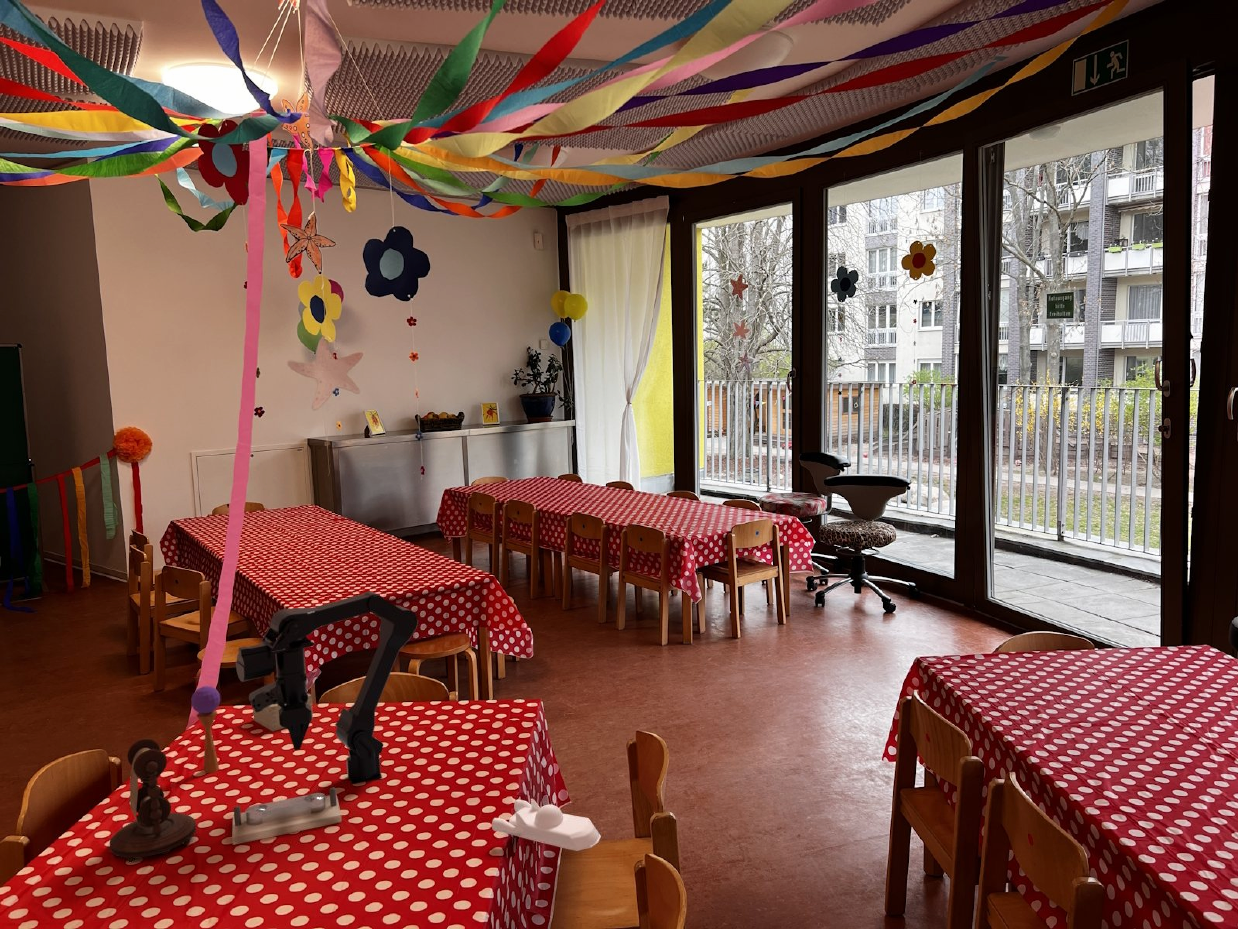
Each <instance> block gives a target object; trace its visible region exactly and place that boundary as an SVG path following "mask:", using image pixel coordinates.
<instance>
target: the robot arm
mask: <svg viewBox="0 0 1238 929" xmlns="http://www.w3.org/2000/svg"><path fill="white" fill-rule="evenodd" d="M369 613H372V615H375V617H378V618H379V619H381V620H380V621H381V622H380V625H379V643H378V646H377V648H376V650H375V654H374V655H373V657H372V661H371V664H370V665H369V668H368V670H367V673H366V674H365V678H364V680H363V683H362V685H361V688H360V690H359V692H358V694H357V697H356V700H355V702H354V704H353V705H351V706H350V708H349V709H347V708H345V707H343V708H342V709H341V711H340V715H339V719H338V720H337V721H336V723H335V724H334V726H335V727H336V730H335V734H336V737H337V740H339V742H340V743H342V744H344V745H345V747H346V748H348V757H346V771H347V779H348V780H349V781H350V783H351V784H352V785H356V784H362V783H367V782H370V781H376V780H382V778H383V776H382V773H381V760H380V758H381V757H380V754H382V751H383V747H384V743H383V742H382V741H380V740H379V739H377V738H376V737H375V736H374V731H375V729H376V728H375V726H376V709H377V707H378V704H379V701H380V699H381V696H382V694H383V693H384V689H385V687H386V684H387V682H388V679H389V678H390V674H391V673H392V672H391V671H392V669H393V667H394V665H395V662H396V659H397V657H398V654H399V652H400V651H401V649H402V648H403V647H404V646H405V645H406V644H407V642H409V641H410V639H411V638H412V636H413V635H414V633H415V632H416V629H417V628H418V626H419V625H418V624H419V619H418V616H417V615H416V613H415V612H414V611H413V610H410V609H408V608H406V607H404V606H401V605H397V604H396V605H395V604H393V603H391V602H390V601H387V600H386V599H384V598H383V597H382V596H381V595H380V594H378V593H375V592H372V591H366V592H364V593H362V594H358V595H355V596H350V597H346V598H344V599H340V600H339V599H338V600H337V601H333V602H329V603H326V604H325V603H324V604H322V605H318V606H314V607H293V608H283V609H279V610H278V611H276V612H275V613H274V614H273V616H272V618H271V619H270V624H269V627H268V629H267V631H266V632H265V634H264V636H263V637H262V638H261V640H260V643H259V644H255V645H250V646H249V645H248V646H241V647H238V653H237V655H236V661H235V669H236V673H237V677H238V679H239V680H240V682H247V681H251V680H255V679H260V678H264V677H269V676H271V675H272V673H275V670H276V675H275V681H273V682H271V683H268V684H266V685H264V686H262V687H260V688H257V689H256V690H254V691H252V692H250V693H249V695H248V700H249V702H250V704H251V707H252V709H253V708H254V710H255V712H256V713H257V712H260V711H262V710H263V709H264V708H266V707H268V706H270V705H272V704H274V703H276V702H277V703H278V705H279V706H280V707H281V709H280V710H279V723H280V725H281V726H282V727H285V728H284V729H286V730H288V733H289V736H290V740H291V742H292V747H293V749H294V751H298V750H301V749H302V748H301V747H302V746H303V742H304V741H305V740H304V739H305V736H306V735H307V732H308V729H309V727H310V723H311V722H312V720H313V719H312V713H313V712H312V713H311V707H310V705H309V704H307V700H308V694H309V692H308V686H307V685H308V684H307V681H308V678H307V677H308V676H307V671H306V668H307V667H306V657H305V649H306V648H310V647H314V646H315V643H314V642H313V641H311V640H310V639H309V638H308V637H307V636H309V635H311V634H312V633H314V632H315V631H316V630H317V629H320V628H322V627H324V626H327V625H331V624H335V623H338V622H342V621H345V620H348V619H352V618H355V617H356V618H357V617H359V616H363V615H366V614H369Z"/></svg>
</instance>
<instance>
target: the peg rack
mask: <svg viewBox="0 0 1238 929" xmlns="http://www.w3.org/2000/svg"><path fill="white" fill-rule="evenodd" d="M337 795H338V794H337V790H336V787H330V788H329V795H325V801H326V808H325V809H324V810H323V811H321V812H319V813H314V814H307V815H302V816H297V817H292V818H287V819H282V820H277V821H272V822H268V823H263V824H260V825H255V826H250V825H247V823H246V811H244V812H241V806H239V805H237V806H234V807H233V814H232V836H231V838H232V845H238V844H243V843H248V842H249V843H250V842H253V841H258V840H262V839H267V838H271V837H277V836H282V835H286V834H290V833H296V832H300V831H305V830H310V829H314V828H315V829H316V828H320V827H325V826H328V825H329V826H330V825H333V824H338V823H342V814H341V809H340V805H339V799H338V796H337Z"/></svg>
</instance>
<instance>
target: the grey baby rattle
mask: <svg viewBox="0 0 1238 929" xmlns="http://www.w3.org/2000/svg"><path fill="white" fill-rule="evenodd" d="M325 796H326V795H325V793H321V792H316V793H315V792H314V793H311V794H306V795H303V796H297V797H292V798H287V799H281V800H275V801H272V802H267V803H261V804H260V803H259V804H254V805H251V806H248V807H247V808H246V809H245V812H246V823H247V825H250V826H255V825H260V824H263V823H268V822H272V821H277V820H282V819H287V818H292V817H297V816H302V815H307V814H314V813H319V812H321V811H323V810H324V809H325V808H326V801H325Z"/></svg>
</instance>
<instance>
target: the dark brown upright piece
mask: <svg viewBox="0 0 1238 929" xmlns="http://www.w3.org/2000/svg"><path fill="white" fill-rule="evenodd" d="M126 759H127V761H128V763H129V765H130V766H131V770H130V782H129V791H130V792H129V801H130V803H129V805H130V808H131V809H130V810H131V812H132V814H133V817H134V818H135V820H134V821H132V822H130V823H128V824H126V825H125V826H122V828H120V829H119V830H117V831H116V832H115V833H114V834H112V836H111V837H110V840H109V850H110V853H112V854H113V855H114V856H116V857H119V858H127V861H128V863H129V862H131V863H133V862H135V858H145V857H150V856H155V855H158V854H161V853H165V852H167V851H169V850H173V849H175V848H177V847H179V846H181V845H182V844H183V845H184V846H185V847H187V846H189V843H190V838H192V837H193V836H194V834H195V833H196V830H197V825H196V824H197V823H196V820H195V818H194V817H192V816H191V815H189V814H184V813H180V812H171V811H172V805H171V802H170V800H169V799H167V798H165V793H164V790H163V789H162V788H161V787H160V785H158V782H159V781H158V778H159V777H160V776H161V774H162V773H163V772H164V771H165V770H166V767H167V764H168V763H167V762H168V759H167V756H166V754H165V752H163V751H162V750H161V748H160V745H159V743H158V742H157V741H155V740H153V739H151V738H143V739H139V740H137V741H135V742H134V743H133V744H132V745H131V746H130V747H129V749H128V752H127V758H126ZM139 780H140V782H141V787H140V788H139Z"/></svg>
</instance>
